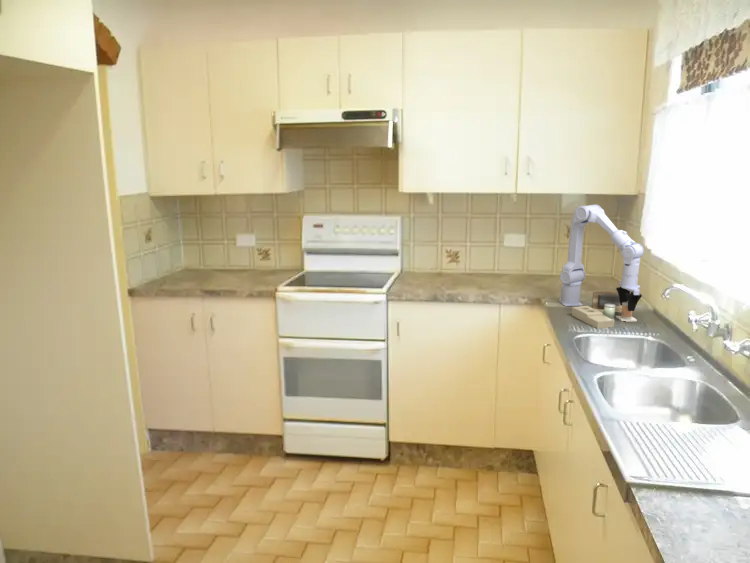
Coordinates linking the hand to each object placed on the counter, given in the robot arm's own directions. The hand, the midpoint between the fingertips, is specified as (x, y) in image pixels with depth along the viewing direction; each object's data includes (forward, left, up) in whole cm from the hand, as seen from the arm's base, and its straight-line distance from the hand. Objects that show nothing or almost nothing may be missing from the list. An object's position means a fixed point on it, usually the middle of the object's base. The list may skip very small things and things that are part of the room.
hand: (627, 308), depth 229 cm
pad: (0, 0, -5) cm, 5 cm away
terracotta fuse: (0, 0, -4) cm, 4 cm away
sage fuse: (0, -7, -5) cm, 8 cm away
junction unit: (-12, -3, -5) cm, 13 cm away
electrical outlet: (+2, -14, -5) cm, 15 cm away
